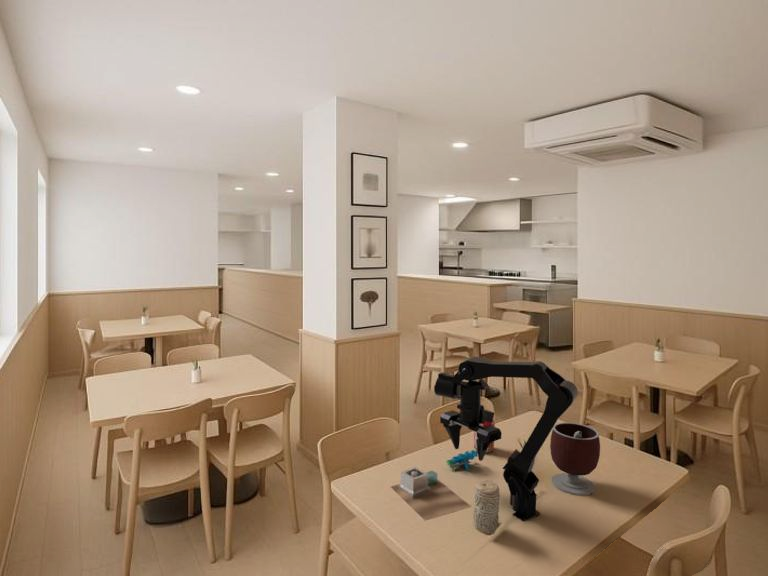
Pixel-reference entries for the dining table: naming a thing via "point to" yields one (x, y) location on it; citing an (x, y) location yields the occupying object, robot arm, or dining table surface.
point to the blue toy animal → (462, 459)
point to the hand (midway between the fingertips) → (468, 454)
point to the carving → (486, 506)
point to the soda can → (477, 437)
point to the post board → (433, 500)
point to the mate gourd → (574, 457)
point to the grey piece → (417, 482)
